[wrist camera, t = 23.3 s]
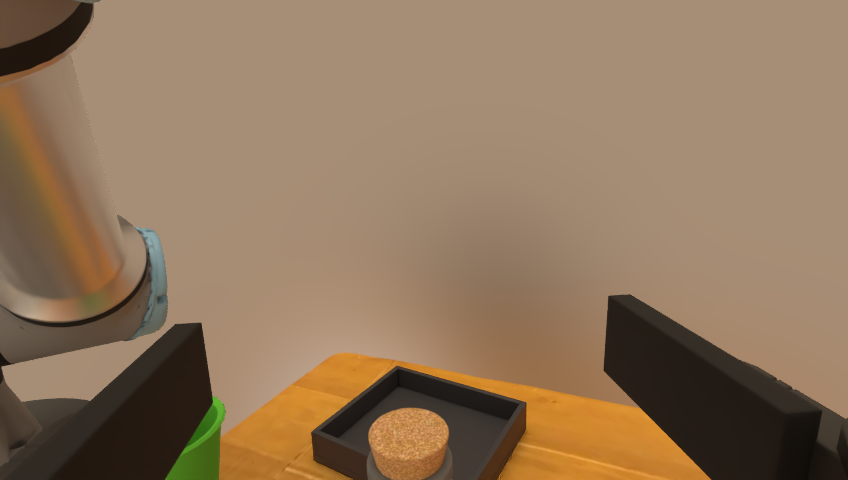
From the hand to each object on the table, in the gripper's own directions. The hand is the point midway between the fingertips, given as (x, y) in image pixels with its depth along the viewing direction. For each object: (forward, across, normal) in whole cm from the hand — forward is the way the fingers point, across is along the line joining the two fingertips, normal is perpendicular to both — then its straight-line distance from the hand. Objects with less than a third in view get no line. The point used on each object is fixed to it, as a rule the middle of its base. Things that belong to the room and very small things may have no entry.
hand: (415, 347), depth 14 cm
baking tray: (+28, +2, -25) cm, 38 cm away
